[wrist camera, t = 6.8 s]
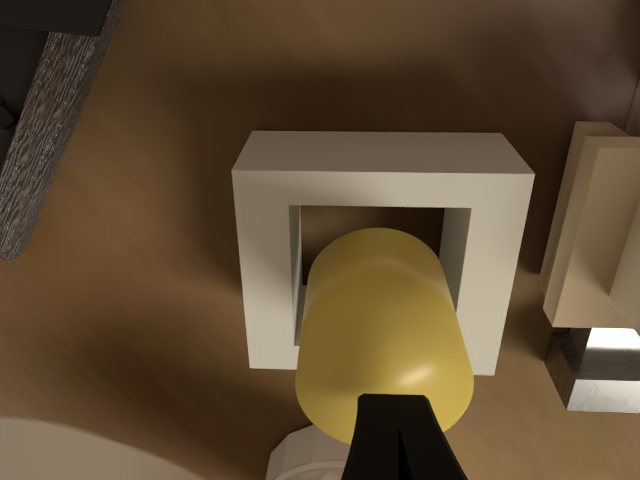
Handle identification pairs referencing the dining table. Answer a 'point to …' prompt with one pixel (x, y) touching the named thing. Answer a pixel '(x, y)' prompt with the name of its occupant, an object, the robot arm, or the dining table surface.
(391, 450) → the robot arm
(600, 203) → the carriage
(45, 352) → the dining table surface
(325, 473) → the white cup
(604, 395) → the gray block handle
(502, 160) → the frame
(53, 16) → the picture frame
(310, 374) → the cylinder
